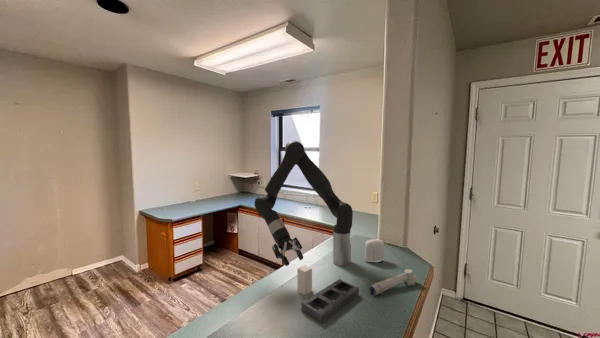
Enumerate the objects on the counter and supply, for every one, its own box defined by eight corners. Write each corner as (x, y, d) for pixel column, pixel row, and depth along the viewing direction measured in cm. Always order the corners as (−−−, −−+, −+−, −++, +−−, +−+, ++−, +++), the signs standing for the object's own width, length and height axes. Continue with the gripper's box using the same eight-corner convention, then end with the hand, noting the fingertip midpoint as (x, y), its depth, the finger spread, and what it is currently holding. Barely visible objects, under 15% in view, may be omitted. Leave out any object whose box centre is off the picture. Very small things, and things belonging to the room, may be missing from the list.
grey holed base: (339, 285, 105) (339, 279, 105) (358, 295, 98) (358, 288, 98) (301, 310, 88) (301, 302, 88) (321, 323, 81) (321, 315, 81)
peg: (304, 287, 104) (304, 265, 104) (311, 291, 101) (312, 268, 101) (297, 291, 101) (297, 268, 101) (304, 295, 98) (304, 271, 98)
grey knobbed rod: (367, 283, 100) (408, 264, 111) (368, 297, 101) (409, 277, 111) (375, 289, 96) (418, 269, 106) (377, 304, 96) (419, 282, 107)
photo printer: (381, 259, 133) (381, 237, 132) (384, 262, 128) (385, 240, 128) (363, 260, 131) (364, 238, 131) (367, 263, 127) (367, 241, 126)
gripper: (270, 230, 105) (287, 263, 98) (293, 223, 115) (310, 253, 108) (263, 238, 109) (279, 271, 102) (286, 232, 119) (302, 261, 112)
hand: (295, 262), depth 105 cm, fingers open, 8 cm apart
